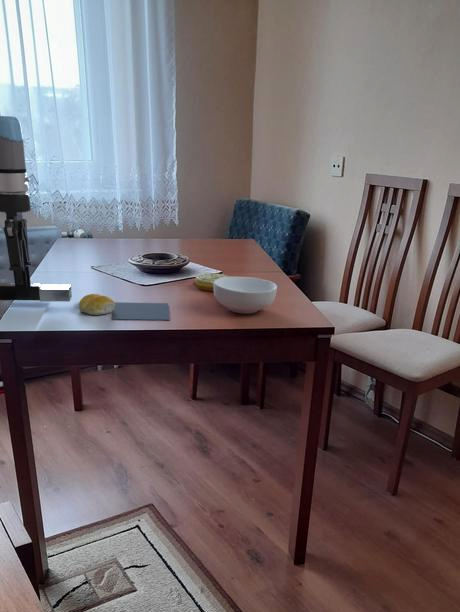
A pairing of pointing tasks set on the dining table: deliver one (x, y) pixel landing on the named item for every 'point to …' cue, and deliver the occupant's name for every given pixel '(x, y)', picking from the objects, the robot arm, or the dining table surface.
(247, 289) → the cereal bowl
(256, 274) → the dining table surface
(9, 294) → the black and grey bar
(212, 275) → the decorated donut
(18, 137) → the robot arm
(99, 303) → the bread roll
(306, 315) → the dining table surface
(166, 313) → the placemat
